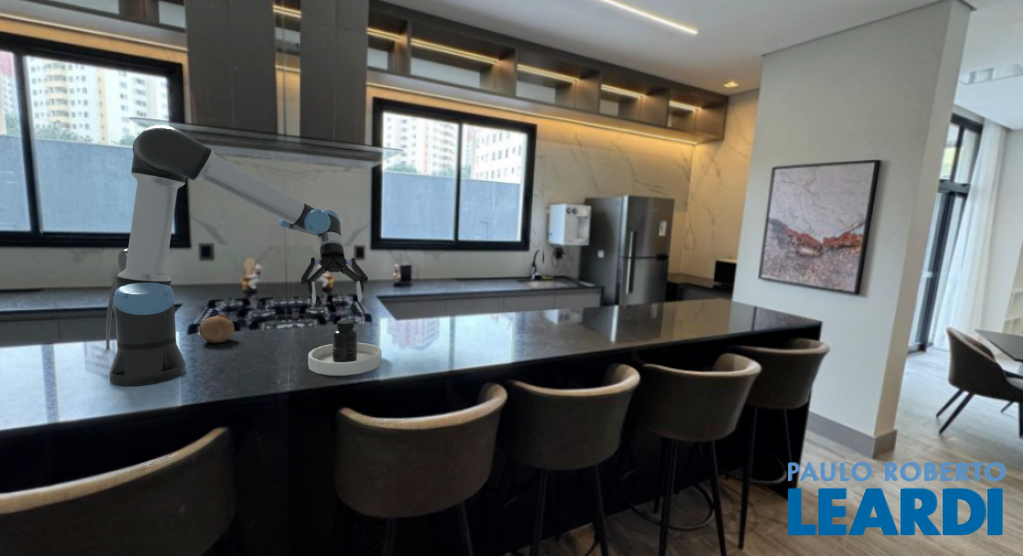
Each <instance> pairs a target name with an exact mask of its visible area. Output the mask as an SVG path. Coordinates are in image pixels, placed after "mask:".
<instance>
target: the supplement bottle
mask: <svg viewBox="0 0 1023 556" xmlns="http://www.w3.org/2000/svg"><path fill="white" fill-rule="evenodd" d="M336 321H337V320H336ZM357 343H358V332H357V330H356V329H355V321H354V320H352V319H351V320H350V319H342V320H338V321H337V322H336V330H334V331H333V333H332V344H333V361H334V362H352V361H356V360H357Z"/></svg>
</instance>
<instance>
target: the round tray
mask: <svg viewBox="0 0 1023 556" xmlns="http://www.w3.org/2000/svg"><path fill="white" fill-rule="evenodd" d="M307 360H308V362H307V363H308V365H307V366H308V369H309V370H310V371H312V372H314V373H316V374H319V375H325V376H351V375H359V374H364V373H367V372H370V371H373V370H375V369H377V368H378V367H380V365H381V364H382V349H381V348H380V347H379V346H377V345H374V344H371V343H365V342H357V360H356V361H352V362H334V361H333V343H331V344H326V345H321V346H318V347H316V348H313V349H312V350H310V351H309V352H308V355H307Z"/></svg>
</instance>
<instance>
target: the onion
mask: <svg viewBox="0 0 1023 556" xmlns="http://www.w3.org/2000/svg"><path fill="white" fill-rule="evenodd" d="M234 332H235V324H234V323H233V321H232V318H230V317H229V316H227V315H226V314H222V313H220V314H217V315H213V316H209V317H207V318H205V319H204V320H203V321H201V324H200V325H199V335H200V336H201V337H202V339H204V340H205V341H206V342H207V343H210V344H222V343H226V342H227V341H229V340H231V339H232V336H233V334H234ZM221 342H222V343H221Z"/></svg>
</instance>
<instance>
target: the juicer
mask: <svg viewBox="0 0 1023 556" xmlns="http://www.w3.org/2000/svg"><path fill="white" fill-rule="evenodd" d="M127 255H128V248H126V249H122V250H121V251H119V253H118V256H117V263H118V269H119V271H120V272H122V271H124V270H125V269H126V262H127ZM120 272H119V273H120ZM117 274H118V273H115V274H114V277H113V281H112V284H111V287H110V288H111V289H110V292H109V297H108V303H107V304H108V305H107V312H106V325H105V347H106V349H108V348H111V347H110V345H111V344H110V342H111V340H110V339H111V324H112V314H113V308H112V297H113V295H114V293H115V287H116V280H117Z"/></svg>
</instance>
